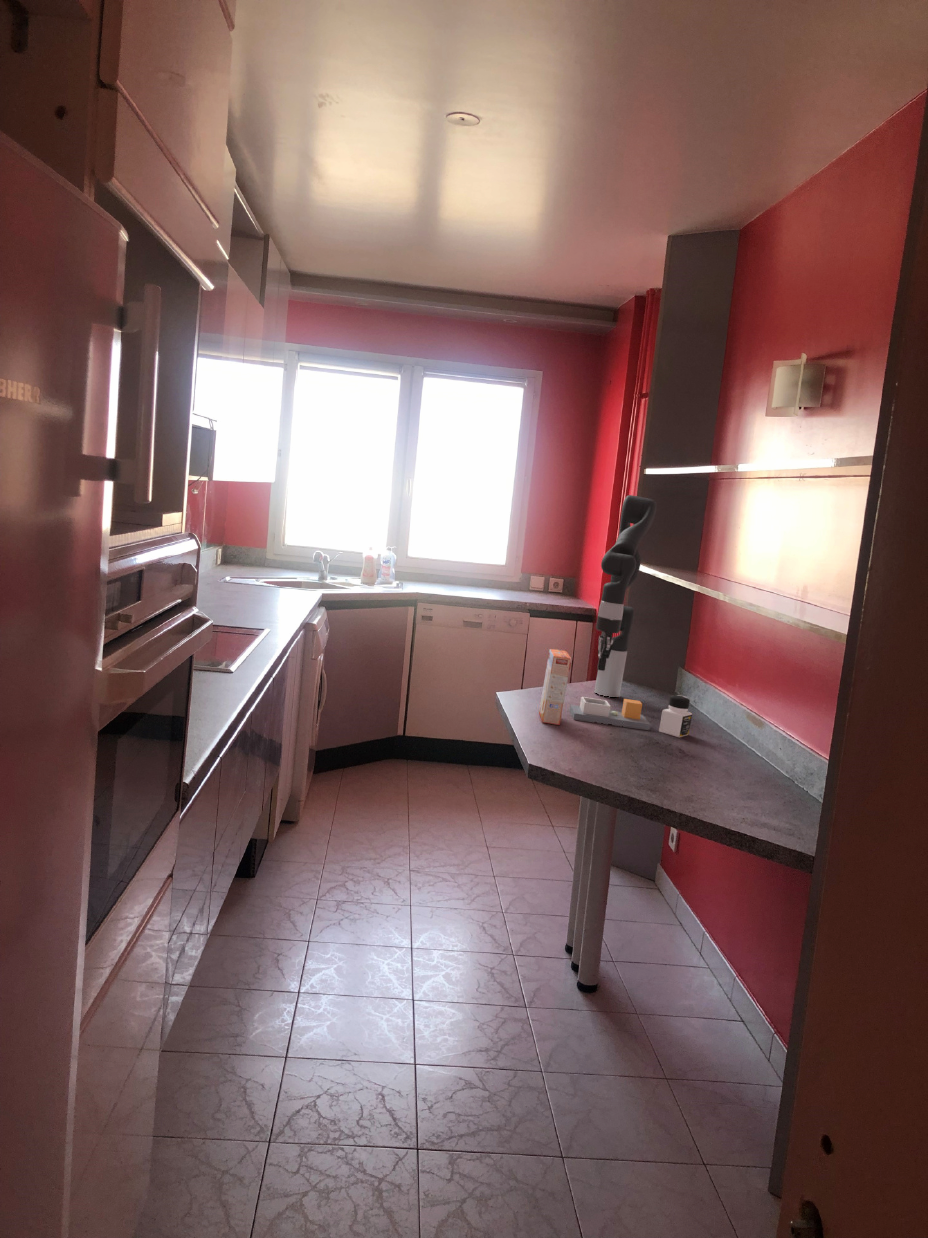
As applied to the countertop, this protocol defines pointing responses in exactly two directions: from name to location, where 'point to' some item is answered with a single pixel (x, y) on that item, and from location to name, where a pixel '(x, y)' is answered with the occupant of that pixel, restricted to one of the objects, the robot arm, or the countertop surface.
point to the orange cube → (631, 709)
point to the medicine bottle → (676, 717)
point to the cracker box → (554, 686)
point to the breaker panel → (605, 714)
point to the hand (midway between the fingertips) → (600, 669)
